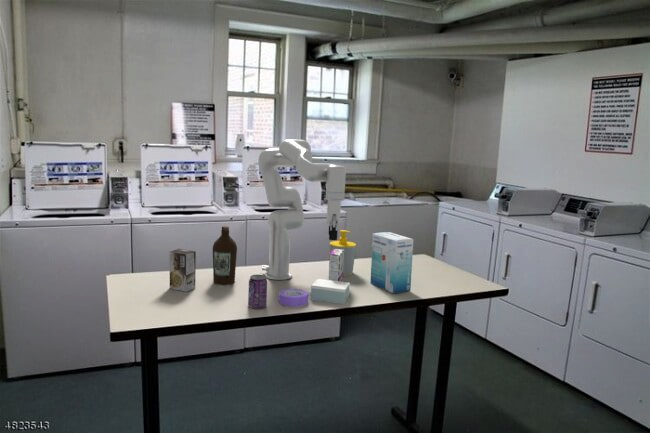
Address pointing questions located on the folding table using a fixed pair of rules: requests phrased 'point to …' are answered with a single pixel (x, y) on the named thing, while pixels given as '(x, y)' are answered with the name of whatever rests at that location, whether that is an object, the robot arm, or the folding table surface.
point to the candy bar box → (336, 265)
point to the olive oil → (224, 258)
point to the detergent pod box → (330, 291)
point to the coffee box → (182, 269)
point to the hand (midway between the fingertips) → (332, 237)
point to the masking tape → (293, 297)
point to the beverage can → (257, 291)
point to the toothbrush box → (391, 262)
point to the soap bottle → (345, 252)
